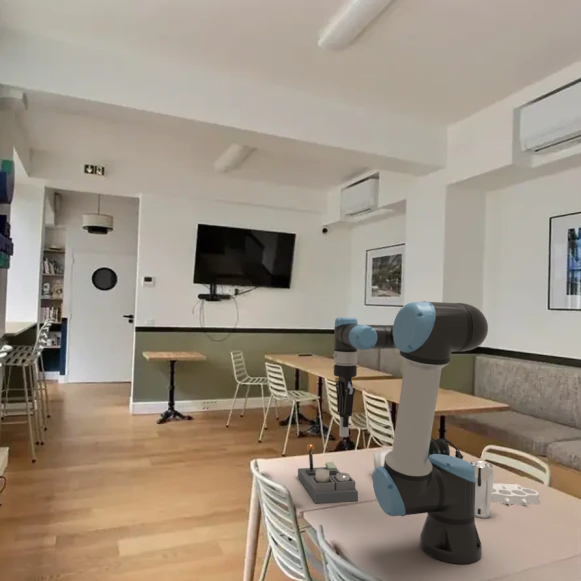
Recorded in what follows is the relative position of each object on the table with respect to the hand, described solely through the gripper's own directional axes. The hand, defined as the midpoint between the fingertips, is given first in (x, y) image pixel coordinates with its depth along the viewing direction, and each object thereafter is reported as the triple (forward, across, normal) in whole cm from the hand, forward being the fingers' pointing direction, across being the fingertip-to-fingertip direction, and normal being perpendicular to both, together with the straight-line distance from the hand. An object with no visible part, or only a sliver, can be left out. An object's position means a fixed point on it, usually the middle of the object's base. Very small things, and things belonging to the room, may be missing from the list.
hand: (344, 436), depth 159 cm
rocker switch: (+15, -13, 0) cm, 20 cm away
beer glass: (+20, +20, +38) cm, 47 cm away
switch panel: (+19, -7, -4) cm, 21 cm away
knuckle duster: (+20, +10, +54) cm, 59 cm away
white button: (+14, 0, -7) cm, 16 cm away
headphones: (+20, -24, +49) cm, 58 cm away
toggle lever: (+16, -13, -7) cm, 22 cm away
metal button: (+16, 0, 0) cm, 16 cm away
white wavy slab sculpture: (+20, -4, +24) cm, 31 cm away
